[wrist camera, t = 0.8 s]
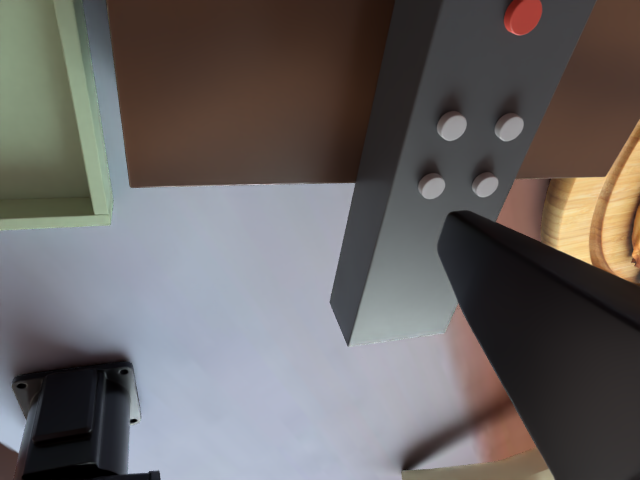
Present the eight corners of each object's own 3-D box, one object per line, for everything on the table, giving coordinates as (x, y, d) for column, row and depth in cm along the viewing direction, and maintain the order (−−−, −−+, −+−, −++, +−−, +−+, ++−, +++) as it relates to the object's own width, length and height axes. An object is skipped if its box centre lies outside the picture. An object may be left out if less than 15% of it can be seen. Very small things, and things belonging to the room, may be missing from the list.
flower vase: (385, 397, 56) (691, 334, 50) (407, 462, 61) (686, 411, 55) (398, 486, 45) (786, 418, 40) (423, 556, 50) (770, 504, 45)
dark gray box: (418, 292, 22) (448, 339, 20) (329, 302, 20) (349, 353, 18) (562, -88, 13) (645, -81, 11) (419, -118, 11) (482, -116, 9)
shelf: (519, 119, 25) (606, 177, 20) (135, 108, 19) (129, 188, 14) (613, -103, 19) (767, -95, 14) (99, -222, 13) (70, -277, 8)
